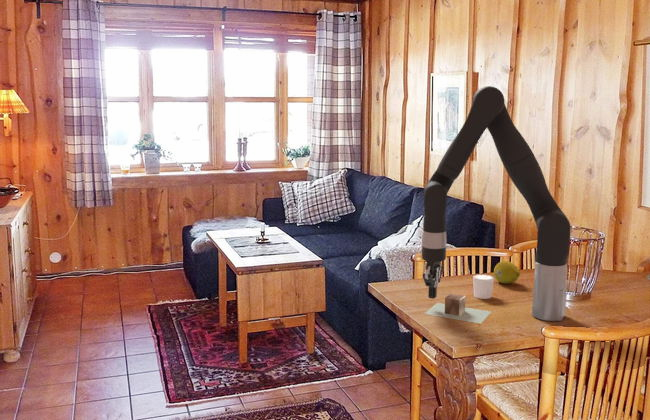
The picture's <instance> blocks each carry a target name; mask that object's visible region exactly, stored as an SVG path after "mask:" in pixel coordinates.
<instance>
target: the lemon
mask: <svg viewBox="0 0 650 420" xmlns="http://www.w3.org/2000/svg"><path fill="white" fill-rule="evenodd" d="M493 274H494V279H496V281H498V283H501V284H505V285H508V284H513V283H515V282H516V281H517V280H518V279H519V278H520V276H521V272H520V270H519V267H518V266H517V265H516V264H514V263H513V262H511V261H507V260H503V261H500V262H498V263H497V264H496V265H495V267H494V269H493Z"/></svg>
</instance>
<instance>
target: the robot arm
mask: <svg viewBox="0 0 650 420" xmlns="http://www.w3.org/2000/svg"><path fill="white" fill-rule="evenodd" d="M471 103H472V104H471V107H470V109H469V112H468V115H467V117H466V120H465V122H464V123H463V125H462V127H461V129H460V130H459V131H458V133H457V134H456V136H455V137H454V139H453V140H452V142H451V143H450V145H449V146H448V148H447V150H446V151H445V153H444V155H443V156H442V158H441V160H440V162H439V164H438V167H437V169H436V170H434V173H433V174H432V176H431V177H430V179H429V180H428V182H427V184H426V185H425V187H424V189H423V191H424V192H423V210H424V211H423V212H424V214H423V223H422V225H423V226H422V230H423V231H422V236H421V259H422V260H423V261H425V262H426V265H425V269H424V270H425V272H423V273H422V278H423V281H424V285H425V286H426V287H428V296H427V297H428V298H429V299H432V300H434V299H436V298H437V295H438V294H437V293H438V292H437V291H438V286H439V283H440V282H441V279H442V275H443V272H444V268H445V267H444V265H441V263H442V262H444V261H445V260H446V259H447V215H446V212H447V205H448V204H447V202H448V192H449V191H450V189H451V187H452V186H453V184H454V182H455V181H456V180H457V179H458V177H459V176H460V174H461V173H462V171H463V170H464V168H465V166H466V164H467V163H468V161H469V159H470V157H471V155H472V153H473V152H474V149H476V146H477V144H478V142H479V141H480V139H481V137H482V135H483V134H484V133H485V131H486V129H487V130H488V132H489V133H490V134H489V135H491V138H492V140H493V143H494V145H495V148H496V149H495V150H496V151H497V154H498V156H499V159H500V161H501V163H502V166H503V167H504V169H505V171H506V173H507V174H508V176H509V178H510V180H511V182H512V183H513V184H514V186H515V187H516V189H517V191H518V192H519V193H520V194H521V196H522V197H523V198H524V200H525V201H526V203H527V206H528V207H529V209H530V212H531V214H532V217H533V219H534V221H535V226H536V230H537V237H536V251H535V255H534V257H535V258H534V276H533V290H532V291H533V292H532V307H531V316H533V317H534V318H536V319H538V320H541V321H546V322H547V321H549V322H550V321H551V322H554V321H555V322H557V321H558V322H562V321H563V319H564V317H565V316H566V300H567V288H568V287H567V285H566V284H567V283H566V280H567V266H568V264H567V263H568V257H569V254H570V253H569V252H570V244H571V243H570V241H571V223H570V220H569V218H568V217H567V215H566V214H565V213H564V212H563V211H562V209H561V208H560V206H559V205H558V204H557V202H556V201H555V199H554V197H553V195H552V194H551V192H550V190H549V188H548V185H547V182H546V179H545V176H544V174H543V171H542V169H541V166H540V164H539V162H538V160H537V158H536V156H535V154H534V152H533V150H532V148H531V147H530V145H529V144H528V143H527V141H526V139H525V138H524V137H523V135H522V134H521V132H520V131H519V129H517V127H516V126H515V124H514V122H513V120H512V118H511V116H510V113H509V111H508V109H507V106H506V102H505V96H504V94H503V92H502V91H501V90H500V89H499V88H497V87H495V86H491V85H490V86H486V85H485V86H483V87H480V88H478V89H477V91H475V93H474V94H473V96H472V102H471Z"/></svg>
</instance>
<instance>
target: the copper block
mask: <svg viewBox="0 0 650 420" xmlns="http://www.w3.org/2000/svg"><path fill="white" fill-rule="evenodd" d="M466 296H467V295H464V294H463V295H460V294H456V293H449V294H448V295H447V296H446V297H445V298H444V304H445V313H446V314H452V315H458V316H461V315H462V314H463V313H464V312H465V307H466V299H467V297H466Z"/></svg>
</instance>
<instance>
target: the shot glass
mask: <svg viewBox="0 0 650 420" xmlns="http://www.w3.org/2000/svg"><path fill="white" fill-rule="evenodd" d="M472 278H473V280H472V283H473V284H472V285H473V296H474V297H475V298H477V299H480V300H481V299H482V300H484V299H485V300H487V299H491V298H492V296H493V295H492V294H493V287H494V281H495V276H492V275H489V274H480V273H479V274H475V275H473V276H472Z"/></svg>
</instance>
